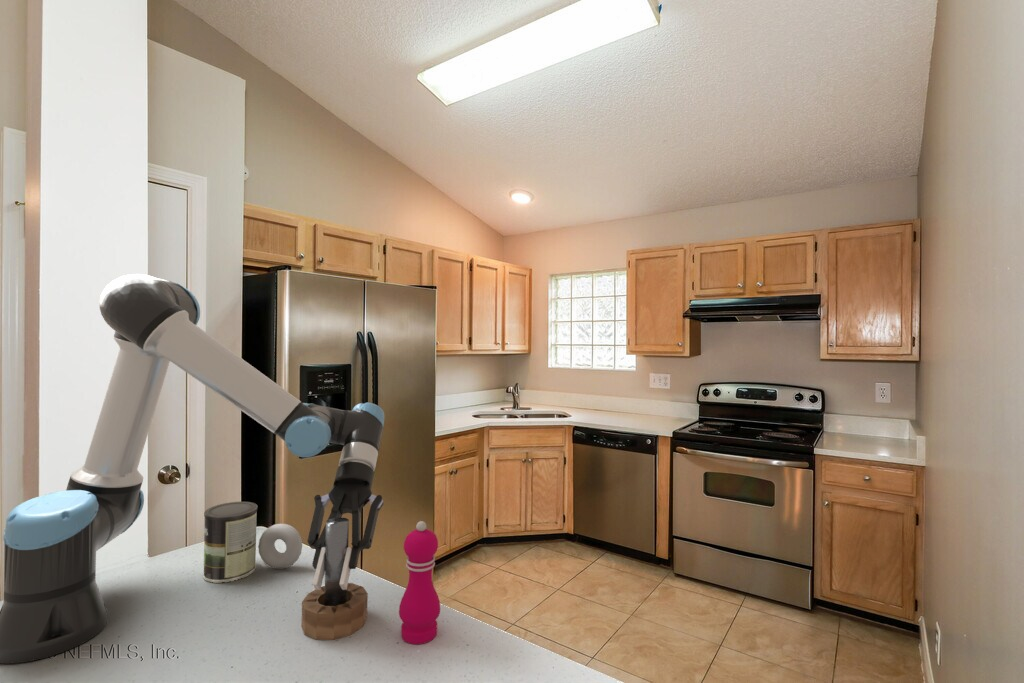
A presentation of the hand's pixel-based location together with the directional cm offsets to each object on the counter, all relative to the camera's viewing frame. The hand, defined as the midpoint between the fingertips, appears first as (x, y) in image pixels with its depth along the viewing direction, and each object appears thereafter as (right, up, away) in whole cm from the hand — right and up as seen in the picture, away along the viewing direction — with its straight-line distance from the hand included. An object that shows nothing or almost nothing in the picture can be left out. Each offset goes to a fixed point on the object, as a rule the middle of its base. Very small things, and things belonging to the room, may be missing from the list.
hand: (329, 586), depth 88 cm
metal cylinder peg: (0, -6, +4) cm, 7 cm away
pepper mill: (+16, -9, 0) cm, 18 cm away
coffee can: (-30, -8, +22) cm, 39 cm away
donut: (-20, -8, +25) cm, 33 cm away
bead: (0, -8, +4) cm, 9 cm away
